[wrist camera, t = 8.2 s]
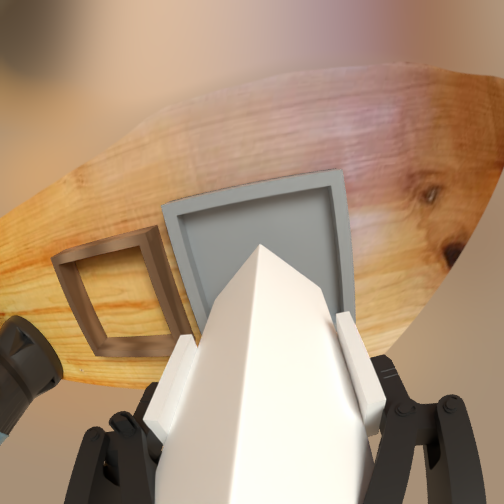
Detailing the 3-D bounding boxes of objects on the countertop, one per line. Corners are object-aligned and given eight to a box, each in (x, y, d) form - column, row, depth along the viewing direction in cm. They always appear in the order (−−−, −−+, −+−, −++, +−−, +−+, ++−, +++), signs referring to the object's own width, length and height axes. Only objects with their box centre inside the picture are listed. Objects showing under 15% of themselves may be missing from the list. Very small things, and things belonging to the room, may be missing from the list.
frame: (105, 343, 33) (95, 356, 30) (64, 249, 28) (50, 258, 25) (195, 339, 31) (189, 355, 28) (157, 225, 26) (145, 233, 24)
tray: (211, 337, 31) (207, 350, 28) (169, 201, 26) (161, 205, 23) (350, 316, 29) (355, 328, 26) (335, 168, 24) (342, 169, 21)
